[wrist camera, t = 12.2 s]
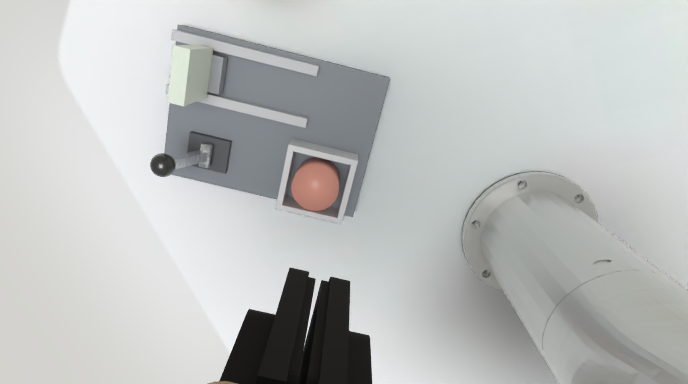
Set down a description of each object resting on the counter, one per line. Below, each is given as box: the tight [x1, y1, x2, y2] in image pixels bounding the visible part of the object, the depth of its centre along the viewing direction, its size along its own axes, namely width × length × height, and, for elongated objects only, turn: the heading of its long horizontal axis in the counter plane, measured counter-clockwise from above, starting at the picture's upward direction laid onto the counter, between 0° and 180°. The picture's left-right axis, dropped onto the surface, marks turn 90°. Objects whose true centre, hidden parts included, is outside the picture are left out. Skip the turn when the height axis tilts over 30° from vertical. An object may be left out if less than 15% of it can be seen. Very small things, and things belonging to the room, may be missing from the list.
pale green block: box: [167, 45, 228, 106], centre depth 33 cm, size 3×4×6 cm
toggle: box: [150, 142, 213, 177], centre depth 35 cm, size 2×2×6 cm
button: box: [291, 157, 340, 211], centre depth 38 cm, size 4×4×3 cm
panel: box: [164, 25, 390, 224], centre depth 37 cm, size 18×13×4 cm
